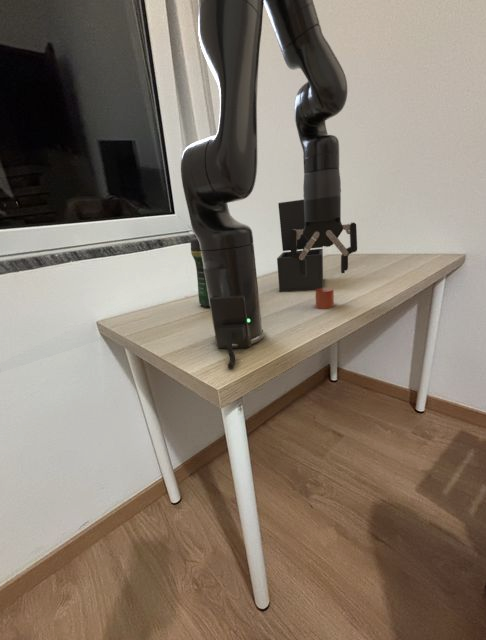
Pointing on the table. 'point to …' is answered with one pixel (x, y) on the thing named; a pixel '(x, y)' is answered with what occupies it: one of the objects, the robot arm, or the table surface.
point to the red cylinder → (324, 298)
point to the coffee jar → (200, 272)
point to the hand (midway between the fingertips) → (323, 274)
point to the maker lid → (292, 223)
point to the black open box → (291, 271)
